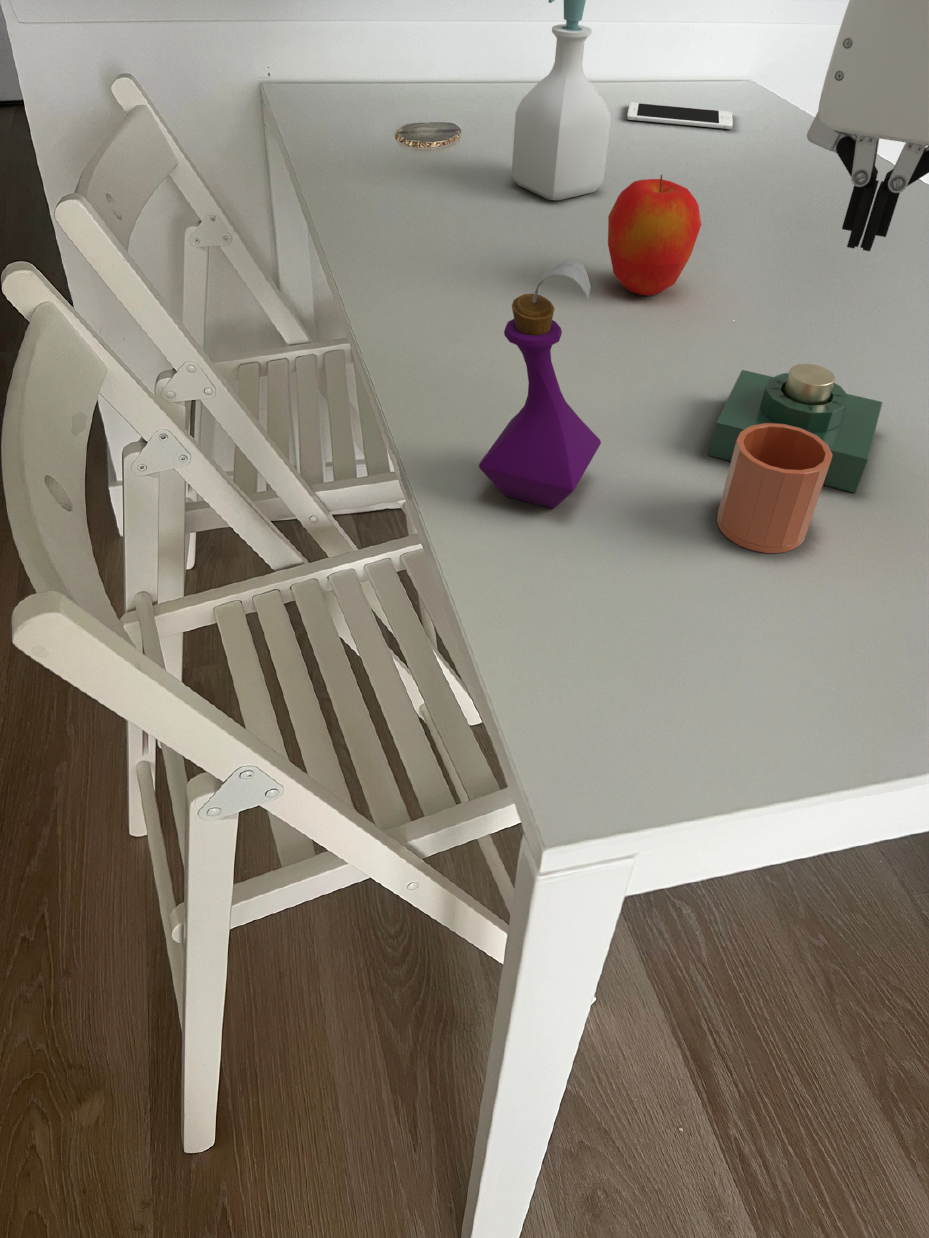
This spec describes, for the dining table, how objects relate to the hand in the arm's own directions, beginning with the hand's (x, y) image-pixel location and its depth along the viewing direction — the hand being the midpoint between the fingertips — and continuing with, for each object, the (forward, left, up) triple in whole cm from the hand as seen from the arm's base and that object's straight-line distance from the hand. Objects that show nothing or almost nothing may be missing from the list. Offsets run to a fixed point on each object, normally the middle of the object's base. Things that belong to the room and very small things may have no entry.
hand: (861, 242), depth 69 cm
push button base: (+1, -3, -18) cm, 19 cm away
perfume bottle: (+18, +13, -19) cm, 29 cm away
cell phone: (+34, -92, -18) cm, 100 cm away
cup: (+1, +10, -18) cm, 21 cm away
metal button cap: (+1, -3, -14) cm, 14 cm away
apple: (+21, -27, -19) cm, 39 cm away
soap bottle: (+40, -52, -19) cm, 68 cm away
